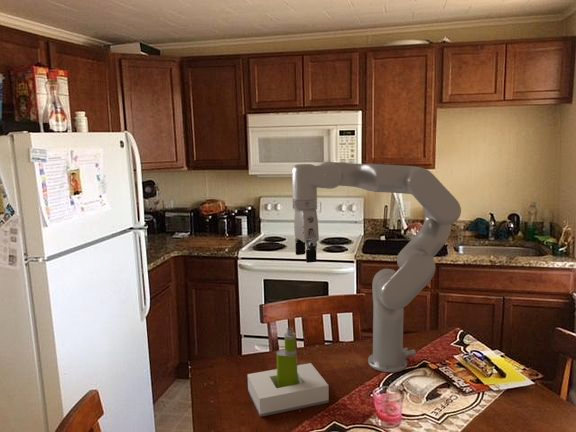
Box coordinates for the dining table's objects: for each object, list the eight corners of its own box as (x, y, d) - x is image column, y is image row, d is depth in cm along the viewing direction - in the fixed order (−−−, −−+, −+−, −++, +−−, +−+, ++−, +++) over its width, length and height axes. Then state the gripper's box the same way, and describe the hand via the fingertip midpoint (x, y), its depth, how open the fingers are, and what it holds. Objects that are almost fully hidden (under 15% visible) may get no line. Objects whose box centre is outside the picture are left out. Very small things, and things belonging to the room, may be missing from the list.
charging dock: (311, 378, 149) (310, 363, 148) (328, 402, 136) (328, 385, 135) (248, 390, 143) (247, 374, 142) (260, 416, 130) (259, 398, 129)
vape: (297, 397, 138) (295, 332, 134) (276, 395, 139) (274, 330, 135) (298, 389, 141) (297, 326, 137) (278, 388, 142) (277, 325, 138)
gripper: (327, 207, 141) (327, 264, 144) (306, 200, 157) (307, 250, 160) (302, 209, 139) (303, 266, 142) (284, 201, 155) (286, 253, 158)
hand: (305, 258), depth 151 cm, fingers open, 9 cm apart
